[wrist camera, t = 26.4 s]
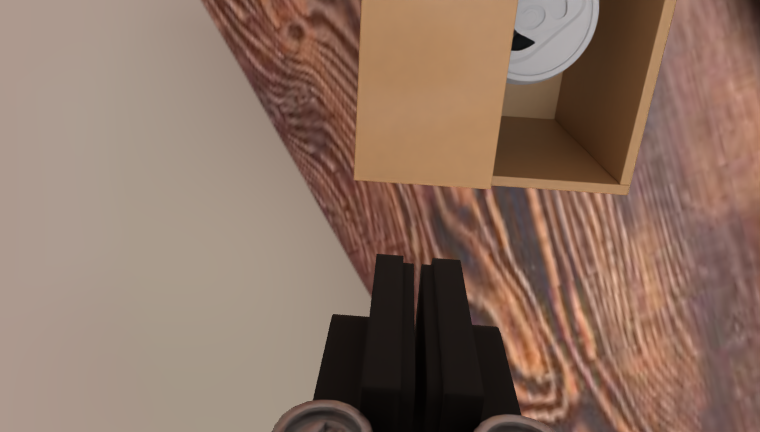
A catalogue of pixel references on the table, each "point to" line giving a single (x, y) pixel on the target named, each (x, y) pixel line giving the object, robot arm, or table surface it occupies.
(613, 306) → the table surface
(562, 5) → the beverage can
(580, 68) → the carton
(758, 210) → the table surface
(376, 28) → the flap
